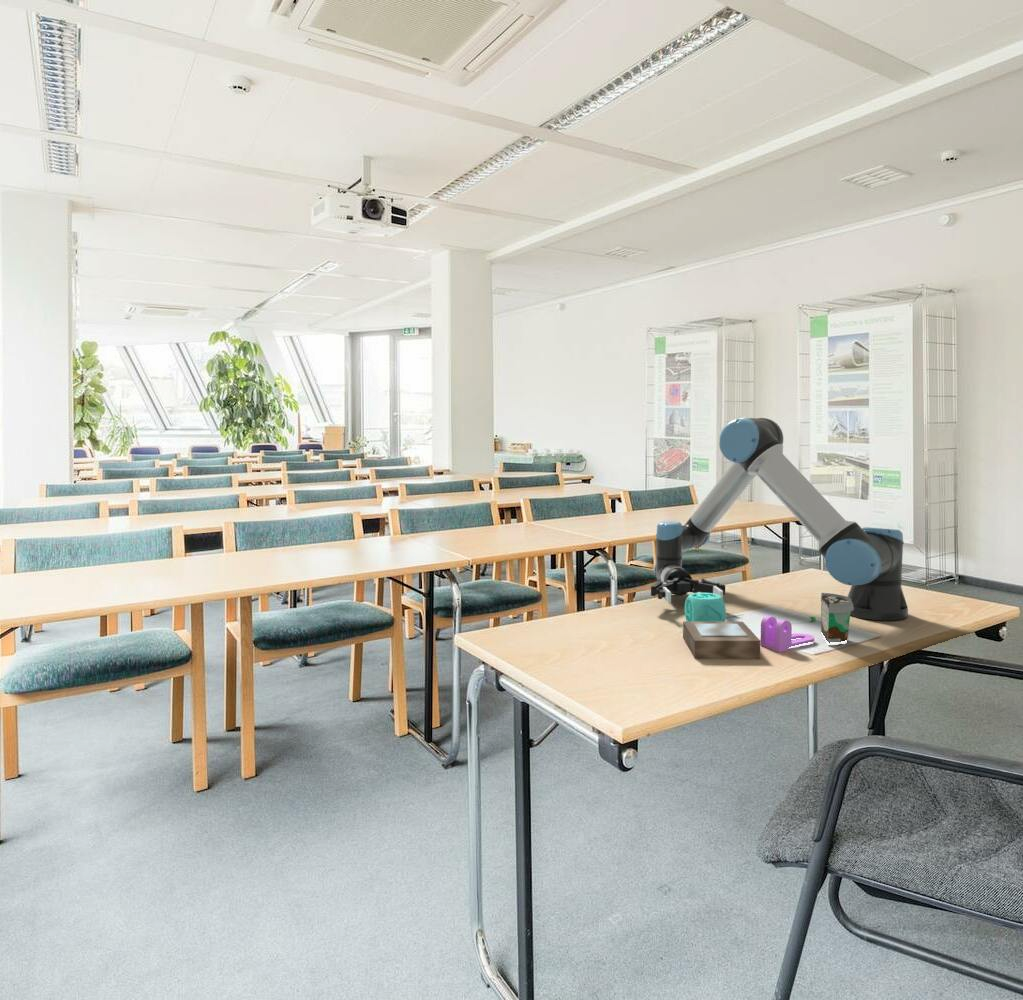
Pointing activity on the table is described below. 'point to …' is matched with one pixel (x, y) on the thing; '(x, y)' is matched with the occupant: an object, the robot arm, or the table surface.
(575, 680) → the table surface
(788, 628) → the bracket
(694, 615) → the decorative dice
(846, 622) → the food container
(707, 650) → the plinth
